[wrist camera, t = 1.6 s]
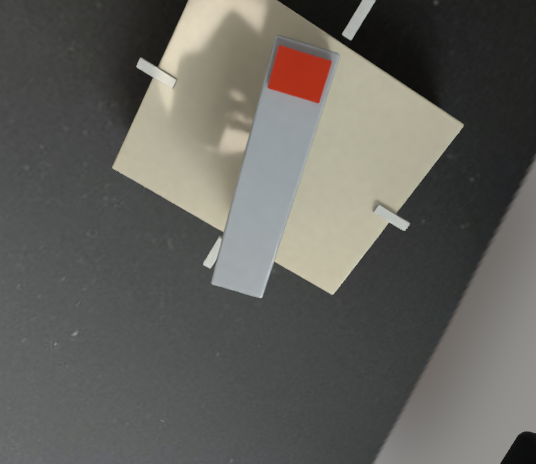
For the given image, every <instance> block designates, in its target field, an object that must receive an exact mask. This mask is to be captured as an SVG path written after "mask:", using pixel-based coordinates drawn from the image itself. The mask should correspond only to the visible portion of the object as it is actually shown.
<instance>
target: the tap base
mask: <svg viewBox="0 0 536 464" xmlns="http://www.w3.org/2000/svg"><path fill="white" fill-rule="evenodd" d="M375 1H376V0H362V1H361V3H360V5H359V6H358V8H357V10H356V11H355V13H354V15H353V16H352V18H351V20H350V21H349V23H348V25H347V26H346V28H345V30H344V31H343V33H342V35H343V36H344V37H346V38H347V39H349V40H352V38H353V37H354V35H355V33H356V32H357V30H358V29H359V27H360V25H361V24H362V22H363V21H364V19H365V17H366V16H367V14H368V12H369V11H370V9H371V8H372V6H373V4H374V3H375ZM276 35H281V36H284V37H288V38H291V39H294V40H297V41H301V42H304V43H307V44H310V45H314V46H317V47H320V48H324V49H327V50H330V51H333V52H337V53H338V54H339V55H340V58H339V61H338V64H337V67H336V71H335V74H334V77H333V80H332V83H331V86H330V89H329V92H328V95H327V99H326V102H325V105H324V108H323V111H322V114H321V117H320V120H319V123H318V127H317V130H316V133H315V136H314V139H313V142H312V145H311V148H310V151H309V154H308V158H307V161H306V164H305V167H304V170H303V173H302V176H301V179H300V182H299V186H298V189H297V192H296V195H295V198H294V201H293V204H292V207H291V210H290V214H289V217H288V220H287V223H286V226H285V229H284V232H283V235H282V238H281V242H280V245H279V248H278V251H277V254H276V257H275V260H274V262H276V263H278V264H280V265H281V266H283V267H285V268H287V269H288V270H290V271H292V272H294V273H295V274H297V275H299V276H301V277H302V278H304V279H306V280H307V281H309V282H311V283H313V284H314V285H316V286H318V287H320V288H321V289H323V290H325V291H327V292H328V293H330V294H332V295H333V294H334V293H335V292H336V290H337V289H338V288H339V287H340V285H341V284H342V283H343V281H344V280H345V279H346V278H347V276H348V275H349V274H350V272H351V271H352V270H353V268H354V267H355V266H356V265H357V263H358V262H359V261H360V259H361V258H362V257H363V256H364V254H365V253H366V252H367V250H368V249H369V248H370V247H371V245H372V244H373V243H374V241H375V240H376V239H377V237H378V236H379V235H380V234H381V232H382V231H383V230H384V228H385V227H386V226H387V225H388V223H389V222H390V223H392V224H393V225H395V226H396V227H398V228H400V229H401V230H403V231H405V230H406V228H407V227H408V226H409V225H410V223H409V222H408V221H406V220H405V219H403V218H401V217H400V216H398V215H397V214H396V213H397V212H398V210H399V209H400V208H401V207H402V205H403V204H404V203H405V201H406V200H407V199H408V197H409V196H410V195H411V194H412V192H413V191H414V190H415V188H416V187H417V186H418V185H419V183H420V182H421V181H422V179H423V178H424V177H425V176H426V174H427V173H428V172H429V170H430V169H431V168H432V166H433V165H434V164H435V163H436V161H437V160H438V159H439V157H440V156H441V155H442V154H443V152H444V151H445V150H446V148H447V147H448V146H449V145H450V143H451V142H452V141H453V139H454V138H455V137H456V135H457V134H458V133H459V132H460V130H461V129H462V128H463V126H464V124H463V123H462V122H460V121H458V120H457V119H455V118H454V117H452V116H451V115H449V114H448V113H446V112H445V111H443V110H442V109H440V108H439V107H437V106H436V105H434V104H433V103H431V102H430V101H428V100H427V99H425V98H424V97H422V96H421V95H419V94H418V93H416V92H415V91H413V90H412V89H410V88H409V87H407V86H406V85H404V84H403V83H401V82H400V81H398V80H397V79H395V78H394V77H392V76H391V75H389V74H388V73H386V72H385V71H383V70H382V69H380V68H379V67H377V66H376V65H374V64H373V63H371V62H370V61H368V60H367V59H365V58H364V57H362V56H360V55H359V54H357V53H356V52H354V51H353V50H351V49H350V48H348V47H347V46H345V45H344V44H342V43H341V42H339V41H338V40H336V39H335V38H333V37H332V36H330V35H329V34H327V33H326V32H324V31H323V30H321V29H320V28H318V27H317V26H315V25H314V24H312V23H311V22H309V21H308V20H306V19H305V18H303V17H302V16H300V15H299V14H297V13H296V12H294V11H293V10H291V9H290V8H288V7H287V6H285V5H284V4H282V3H281V2H279V1H278V0H188V2H187V4H186V6H185V9H184V11H183V13H182V15H181V17H180V19H179V22H178V24H177V26H176V28H175V30H174V33H173V35H172V37H171V39H170V41H169V44H168V46H167V48H166V50H165V52H164V54H163V57H162V59H161V61H160V63H159V65H158V67H157V66H155V65H153V64H152V63H150V62H149V61H147V60H145V59H144V58H142V57H140V59H139V61H138V64H137V66H136V67H137V68H139V69H140V70H142V71H143V72H145V73H147V74H148V75H150V76H152V77H153V79H152V81H151V83H150V85H149V87H148V90H147V92H146V94H145V96H144V98H143V100H142V103H141V105H140V107H139V109H138V111H137V114H136V116H135V118H134V120H133V122H132V125H131V127H130V129H129V131H128V133H127V136H126V138H125V140H124V142H123V144H122V146H121V149H120V151H119V153H118V155H117V157H116V160H115V162H114V164H113V166H112V168H113V169H115V170H117V171H118V172H120V173H122V174H124V175H125V176H127V177H129V178H131V179H132V180H134V181H136V182H137V183H139V184H141V185H143V186H144V187H146V188H148V189H150V190H151V191H153V192H155V193H157V194H158V195H160V196H162V197H164V198H165V199H167V200H169V201H170V202H172V203H174V204H176V205H177V206H179V207H181V208H183V209H184V210H186V211H188V212H190V213H191V214H193V215H195V216H196V217H198V218H200V219H202V220H203V221H205V222H207V223H209V224H210V225H212V226H214V227H216V228H217V229H219V230H221V231H222V232H224V229H225V226H226V222H227V218H228V214H229V210H230V207H231V203H232V199H233V195H234V191H235V187H236V184H237V180H238V176H239V172H240V168H241V165H242V161H243V157H244V153H245V149H246V146H247V142H248V138H249V134H250V130H251V127H252V123H253V119H254V115H255V111H256V108H257V104H258V100H259V96H260V92H261V88H262V85H263V81H264V77H265V73H266V69H267V66H268V62H269V58H270V54H271V50H272V47H273V43H274V39H275V37H276ZM221 241H222V237H220V236H219V238H218V240H217V241H216V243H215V244H214V246H213V248H212V249H211V251H210V253H209V254H208V256H207V258H206V259H205V261H204V263H203V265H205V266H206V267H208V268H211V267H212V265H213V264H214V262H215V261H216V259H217V256H218V252H219V248H220V245H221Z"/></svg>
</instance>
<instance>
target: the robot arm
mask: <svg viewBox="0 0 536 464" xmlns="http://www.w3.org/2000/svg"><path fill="white" fill-rule="evenodd" d="M501 464H536V433H532V432H522V433H521V434H519V435H518V437H517V438H516V440H515V441H514V443H513V444H512V446H511V447H510V449H509V451H508V452H507V454H506V455H505V457H504V459H503V460H502V462H501Z"/></svg>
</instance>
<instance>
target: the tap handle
mask: <svg viewBox="0 0 536 464" xmlns="http://www.w3.org/2000/svg"><path fill="white" fill-rule="evenodd" d="M339 58H340V55H339V54H338V53H337V52H333V51H330V50H327V49H324V48H320V47H317V46H314V45H310V44H307V43H304V42H301V41H297V40H294V39H291V38H288V37H284V36H281V35H276V37H275V39H274V43H273V47H272V50H271V54H270V58H269V62H268V66H267V69H266V73H265V77H264V81H263V85H262V88H261V92H260V96H259V100H258V104H257V108H256V111H255V115H254V119H253V123H252V127H251V130H250V134H249V138H248V142H247V146H246V149H245V153H244V157H243V161H242V165H241V168H240V172H239V176H238V180H237V184H236V187H235V191H234V195H233V199H232V203H231V207H230V210H229V214H228V218H227V222H226V226H225V229H224V233H223V237H222V241H221V245H220V248H219V252H218V256H217V260H216V264H215V267H214V271H213V275H212V279H211V284H213V285H216V286H220V287H223V288H227V289H230V290H234V291H237V292H240V293H244V294H247V295H251V296H254V297H258V298H262V297H263V294H264V291H265V288H266V285H267V282H268V279H269V276H270V273H271V270H272V266H273V263H274V260H275V257H276V254H277V251H278V248H279V245H280V242H281V238H282V235H283V232H284V229H285V226H286V223H287V220H288V217H289V214H290V210H291V207H292V204H293V201H294V198H295V195H296V192H297V189H298V186H299V182H300V179H301V176H302V173H303V170H304V167H305V164H306V161H307V158H308V154H309V151H310V148H311V145H312V142H313V139H314V136H315V133H316V130H317V127H318V123H319V120H320V117H321V114H322V111H323V108H324V105H325V102H326V99H327V95H328V92H329V89H330V86H331V83H332V80H333V77H334V74H335V71H336V67H337V64H338V61H339Z"/></svg>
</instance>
